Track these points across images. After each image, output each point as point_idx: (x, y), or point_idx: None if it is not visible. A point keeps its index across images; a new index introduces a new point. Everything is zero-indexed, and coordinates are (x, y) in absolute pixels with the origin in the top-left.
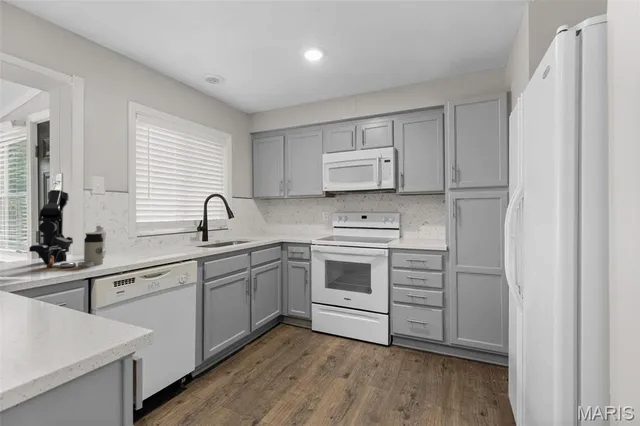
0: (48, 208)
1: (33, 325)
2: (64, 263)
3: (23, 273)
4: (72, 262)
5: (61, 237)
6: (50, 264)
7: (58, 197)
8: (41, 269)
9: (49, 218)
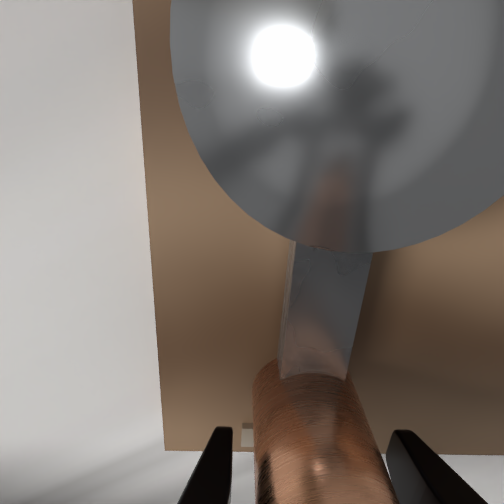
0: None
1: None
2: (371, 172)
3: (474, 474)
4: (179, 21)
5: None
6: (360, 413)
7: None
8: (460, 398)
9: None
